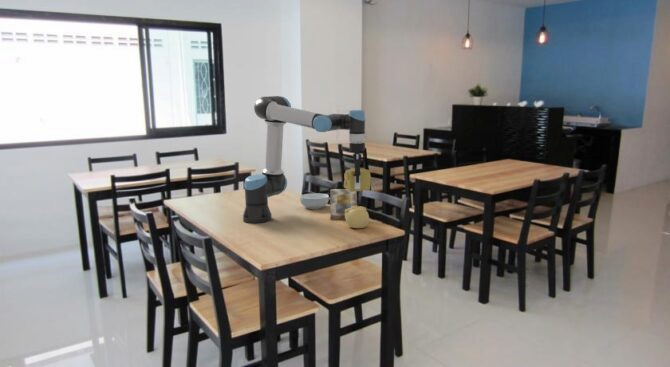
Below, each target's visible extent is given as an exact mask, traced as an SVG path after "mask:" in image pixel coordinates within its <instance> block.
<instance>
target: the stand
mask: <svg viewBox="0 0 670 367" xmlns="http://www.w3.org/2000/svg"><path fill="white" fill-rule="evenodd" d="M329 191H330V192H329V195H330V196H329V198H330V202H329V203H330V204H329V205H330V215H329V216H330V221H338V220H339V221H346V219H345V210H346V209H348V208H351V207H353V206H358V205H357V204H358V199H357V198H358V196H357V193H358V191H353V192H351V191H349V190H348V189H346V188H344V189H341V188H338V189H336V188H335V189H333V188H332V189H330V190H329Z"/></svg>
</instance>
